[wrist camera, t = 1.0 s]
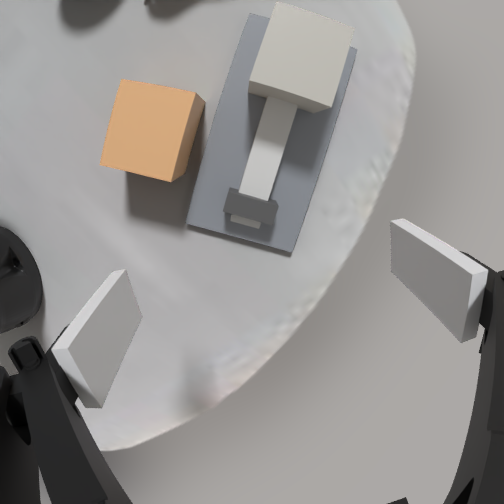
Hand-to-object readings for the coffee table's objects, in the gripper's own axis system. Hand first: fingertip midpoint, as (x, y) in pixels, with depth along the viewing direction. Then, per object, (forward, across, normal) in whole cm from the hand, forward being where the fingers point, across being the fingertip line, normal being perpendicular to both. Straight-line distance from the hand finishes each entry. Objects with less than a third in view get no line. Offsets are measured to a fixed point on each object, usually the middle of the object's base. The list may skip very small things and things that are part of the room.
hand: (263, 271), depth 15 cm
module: (+21, -8, +9) cm, 24 cm away
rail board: (+20, +4, +7) cm, 22 cm away
